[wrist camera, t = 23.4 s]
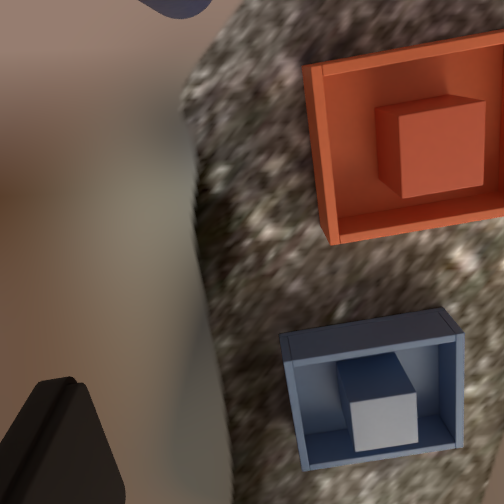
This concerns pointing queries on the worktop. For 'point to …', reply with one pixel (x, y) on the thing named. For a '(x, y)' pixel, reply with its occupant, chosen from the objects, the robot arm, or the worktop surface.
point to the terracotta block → (431, 144)
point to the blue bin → (365, 345)
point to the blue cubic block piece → (377, 402)
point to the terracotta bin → (364, 134)
